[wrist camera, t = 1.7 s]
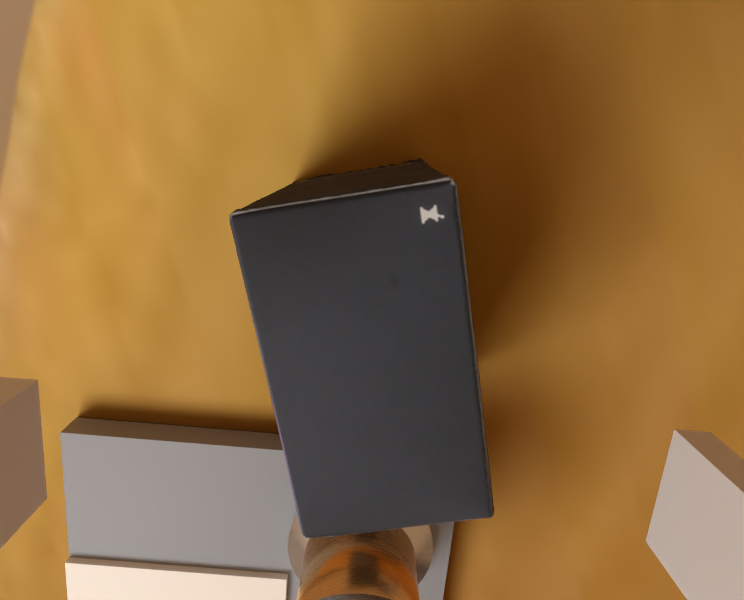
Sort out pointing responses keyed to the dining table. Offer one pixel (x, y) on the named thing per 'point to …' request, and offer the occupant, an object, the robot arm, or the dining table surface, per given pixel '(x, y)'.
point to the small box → (369, 347)
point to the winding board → (186, 515)
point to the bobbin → (361, 563)
